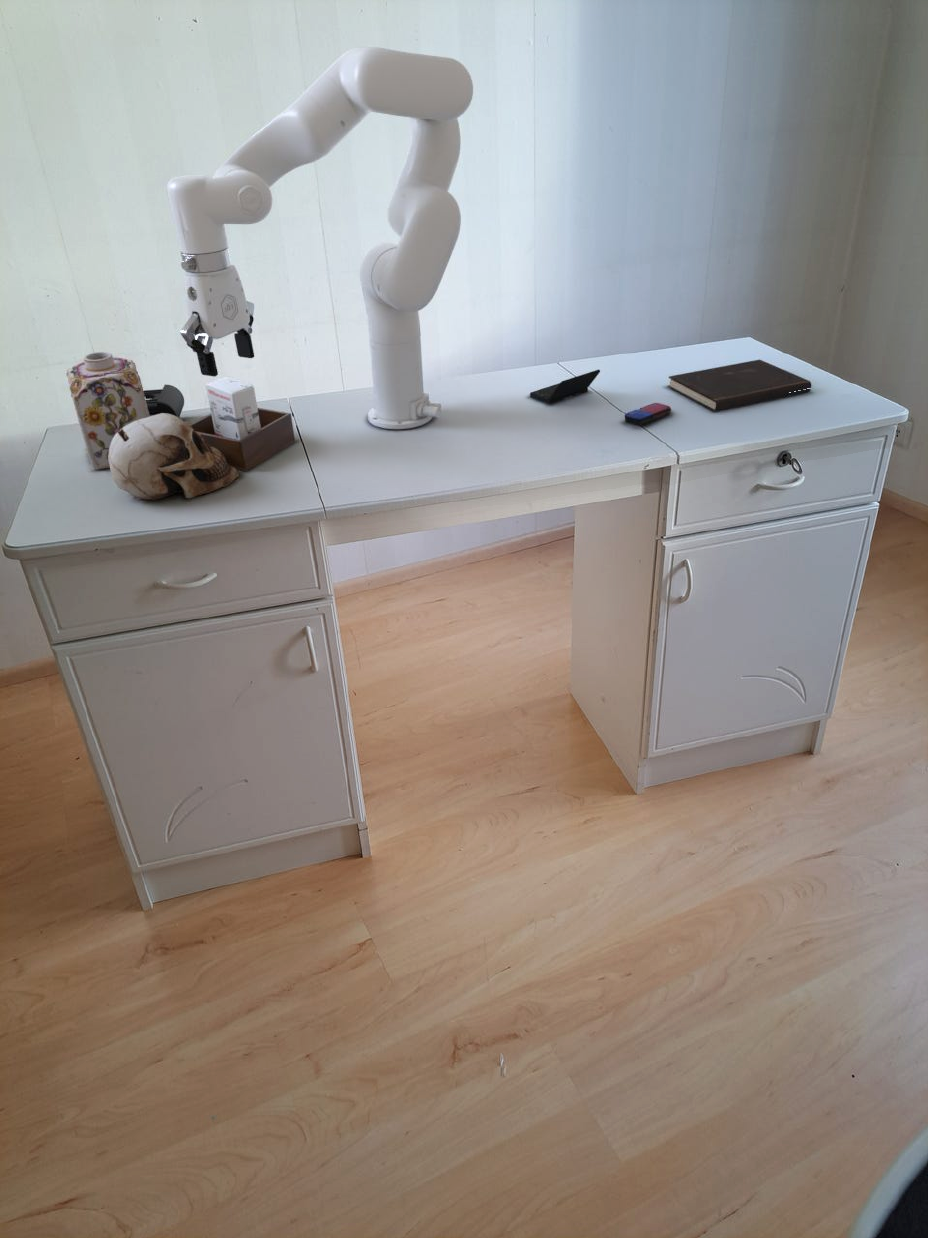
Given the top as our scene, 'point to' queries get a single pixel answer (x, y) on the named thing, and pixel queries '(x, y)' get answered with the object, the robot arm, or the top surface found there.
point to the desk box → (250, 439)
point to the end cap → (164, 401)
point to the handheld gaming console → (565, 388)
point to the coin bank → (166, 459)
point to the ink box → (233, 408)
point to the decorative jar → (105, 401)
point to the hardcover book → (738, 385)
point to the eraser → (647, 414)
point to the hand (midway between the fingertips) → (228, 365)
